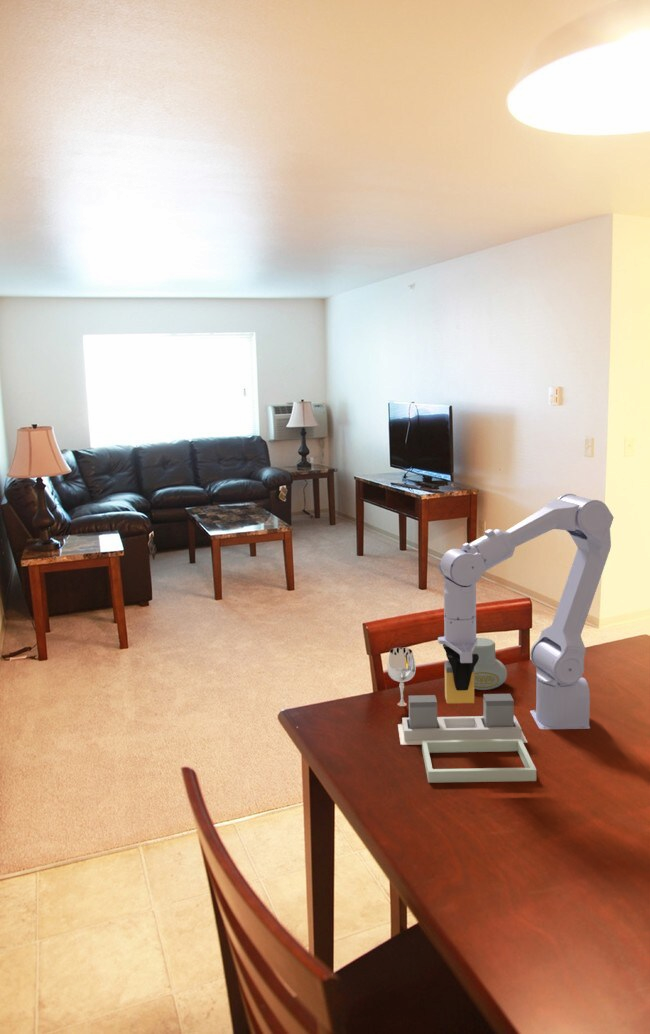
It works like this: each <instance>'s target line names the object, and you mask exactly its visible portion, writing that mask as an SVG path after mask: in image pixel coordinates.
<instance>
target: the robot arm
mask: <svg viewBox="0 0 650 1034" xmlns="http://www.w3.org/2000/svg"><path fill="white" fill-rule="evenodd" d="M613 521H614V516H613V514H612V512H611V510H610V509H609V507H608V506H607V504H606V503H604V502H603V501H602V500H598V499H591V498H588V497H587V498H586V497H583V496H578V495H576V494H573V493H565V494H561V496H559V497H558V498H555V499H552V500H550V501H549V502H548V503H547V504H546V505H545V506H544V507H542V508H540V509H539V510H537V511H535V512H534V513H532V514H531V515H530V516H527V517H526V518H524V519H523V520H521V521H520V522H518V523H516V524H514V525H513V526H512V527H510V528H508V529H507V530H503V529H499V528H495V529H492V528H488V529H486V530H485V531H484V535H482V536H480V537H479V538H477V539H475V540H473V541H471V542H469V543H468V542H465V543H462V545H461V546H462V547H461V548H451V549H449V550H448V551H447V550H446V552H444V554H443V555H442V557H441V559H440V563H437V564H438V565H437V568H438V570H439V572H440V574H441V575H442V577H443V622H444V624H443V626H444V629H443V630H444V631H443V632H444V633H443V634H444V635H443V636H439V637H437V643H438V644H439V645H442V648H443V649H444V652H445V654H446V655H445V656H446V658H447V661H449V662H450V664H451V667H452V671H453V677H454V683H455V687H456V690H468V688H469V684H470V679H471V675H472V671H473V669H474V667H475V665H476V663H477V662H478V659H479V656H478V654H472V652H473V650H474V648H475V646H476V644H477V638H478V637H477V583H478V582H479V580H480V579H481V577H482V575H483V574H484V573H485V572H486V571H488V570H490V569H492V568H493V567H495V566H498V565H499V564H501V563H502V562H504V561H507V560H508V559H510V558H511V557H513V555H514V553H515V549H516V548H517V547H518V546H521V545H523V544H525V543H527V542H530V541H531V540H533V539H535V538H538V537H539V536H541V535H545V534H547V533H548V532H550V531H552V530H560V531H561V530H562V531H566V532H567V533H569V535H570V537H571V539H572V540H573V542H574V543H575V545H576V549H577V550H576V553H575V556H574V558H573V560H572V561H573V562H572V563H571V567H570V571H569V573H568V576H567V578H566V583H565V585H564V588H563V590H562V594H561V597H560V599H559V603H558V605H557V608H556V612H555V614H554V618H553V620H552V623H551V625H549V626H547V627H546V628H544V629H543V630H541V633H540V636H539V637H538V639H537V640H536V642H534V643H533V645H532V646H531V649H530V653H529V655H530V661H531V663H532V664H533V665H534V666H535V668H536V669H535V671H536V691H535V692H536V697H535V698H536V699H535V702H536V703H535V705H536V706H535V709H533V710H530V711H529V712H530V715H531V716H532V717H533V720H534V722H535V723H536V725H537V727H538V728H539V729H540V730H572V729H573V730H577V729H578V730H579V729H581V730H583V729H584V730H585V729H591V726H590V706H591V695H590V694H591V693H590V687H589V683H588V681H587V679H586V678H585V677H582V676H583V674H584V671H585V662H584V661H585V655H586V651H587V649H586V647H585V643H584V640H583V638H582V632H583V630H584V626H585V624H586V621H587V618H588V615H589V612H590V610H591V606H592V603H593V602H594V601H593V600H594V598H595V595H596V592H597V589H598V585H599V583H600V580H601V577H602V575H603V572H604V569H605V566H606V563H607V561H608V557H609V554H610V551H611V547H612V540H611V526H612V524H613Z"/></svg>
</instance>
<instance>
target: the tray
mask: <svg viewBox="0 0 650 1034" xmlns="http://www.w3.org/2000/svg"><path fill="white" fill-rule="evenodd" d="M469 752H470V753H477V752H478V753H483V752H484V753H485V752H486V753H487V752H492V753H493V752H517V753H518V755H519V758H520V759H521V761H522V764H523V766H524V767H483V768H481V767H480V768H473V767H472V768H433V765H432V760H431V756H430V754H431V753H434V754H436V753H469ZM421 753H422V756H423V761H424V762H423V763H424V767H425V773H426V777H427V782H428V783H433V784H434V783H481V782H483V783H487V782H488V783H489V782H492V783H494V782H496V783H497V782H498V783H499V782H501V783H503V782H537V768H536V766H535V764H534V762H533V760H532V757H531V756H530V754H529V751H528V750H527V748H526V746H525V743H523V741H522V739H476V740H422V744H421Z"/></svg>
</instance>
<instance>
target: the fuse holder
mask: <svg viewBox="0 0 650 1034" xmlns="http://www.w3.org/2000/svg"><path fill="white" fill-rule="evenodd" d="M401 719H402V721H401V723H399V724H397V729H398V735H399V742H400V744H399V745H401V746H403V745H404V746H405V745H406V746H407V745H408V746H409V745H413V746H414V745H415V746H416V745H422V740H476V739H522V741H523V744H528V743H529V742H528V740H527V739H526V736H525V734H524V732H523V731H522V726H521V724H520V723H519V721H518V718H517V717H516V716H515V715H514V726H513V727H484V725H483V715H481V716H480V715H479V716H477V715H475V716H473V715H471V716H466V715H465V716H437V728H427V729H409V717H402V718H401Z"/></svg>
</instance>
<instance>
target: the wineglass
mask: <svg viewBox="0 0 650 1034" xmlns="http://www.w3.org/2000/svg"><path fill="white" fill-rule="evenodd" d="M416 666H417V665H416V660H415V655H414V650H412V649H411V648H408V647H404V646H403V647H401V646H399V647H394V648H391V649H390V650H389V652H388V657H387V663H386V667H387V670H386V671H387V674H388V676H389V678H390V679H391V680H393V681H396V682H398V683H399V686H398V687H399V690H400V691H399V692H400V701H399V702H397V706H399V707H406V706H407V703H406V702H405V700H404V691H405V690H404V689H405V683H406V682H408V681H410V680H412V679H413V678H414V677H415V674H416V670H417V669H416Z"/></svg>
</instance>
